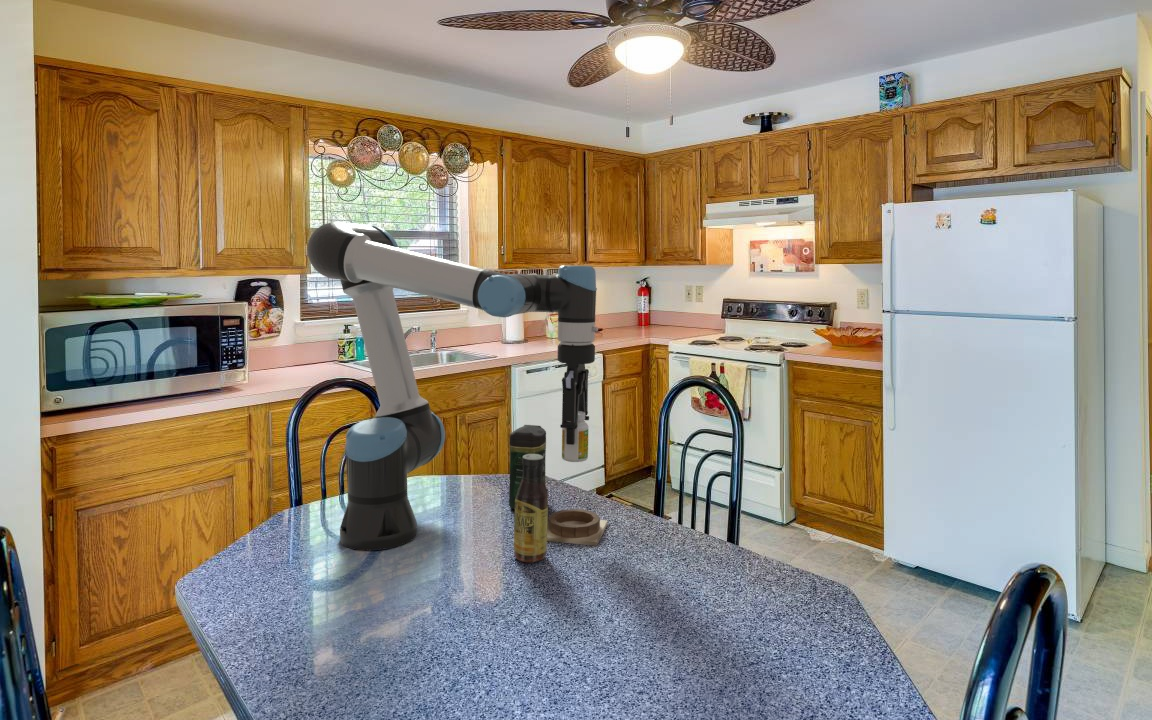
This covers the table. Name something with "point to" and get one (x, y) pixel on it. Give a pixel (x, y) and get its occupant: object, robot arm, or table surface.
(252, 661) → the table surface
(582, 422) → the supplement bottle
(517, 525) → the sauce bottle
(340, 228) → the robot arm
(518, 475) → the coffee jar
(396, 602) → the table surface
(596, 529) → the collar
